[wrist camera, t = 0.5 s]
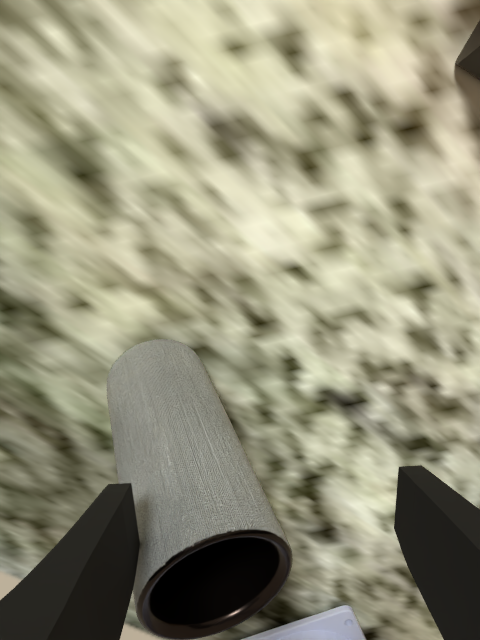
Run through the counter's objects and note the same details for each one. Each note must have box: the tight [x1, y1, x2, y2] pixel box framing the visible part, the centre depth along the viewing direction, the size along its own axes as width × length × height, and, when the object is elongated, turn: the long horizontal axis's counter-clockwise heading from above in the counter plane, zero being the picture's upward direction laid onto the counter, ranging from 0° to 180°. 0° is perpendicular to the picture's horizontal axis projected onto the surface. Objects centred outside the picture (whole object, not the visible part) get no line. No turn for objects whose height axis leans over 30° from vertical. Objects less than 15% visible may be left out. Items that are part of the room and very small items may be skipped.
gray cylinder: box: [107, 339, 292, 640], centre depth 17 cm, size 4×4×10 cm
